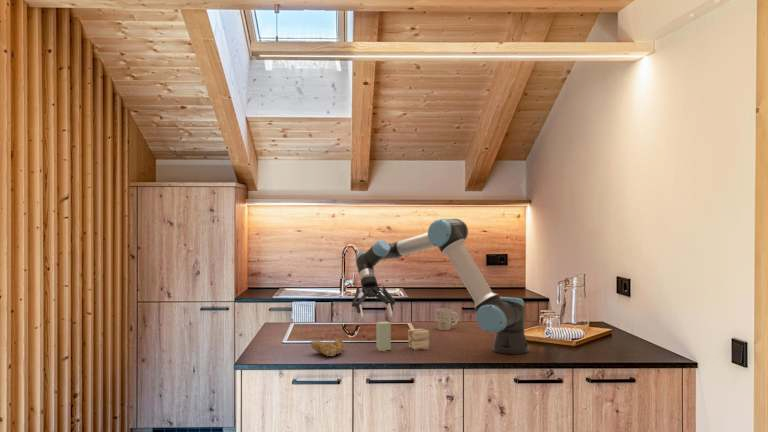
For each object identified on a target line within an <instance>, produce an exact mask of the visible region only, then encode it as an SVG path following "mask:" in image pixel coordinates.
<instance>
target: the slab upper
mask: <svg viewBox="0 0 768 432" xmlns="http://www.w3.org/2000/svg"><path fill="white" fill-rule="evenodd" d="M407 339H408V340H409V339H410V340H412V341H415V342H418V341H427V340H429V341H430V330H427V329H426V328H415V329H413V328H412V329H408V330H407Z"/></svg>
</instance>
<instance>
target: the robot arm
mask: <svg viewBox="0 0 768 432" xmlns="http://www.w3.org/2000/svg"><path fill="white" fill-rule="evenodd" d="M468 235H469V229H468V226H467V224H466V223H465V221H464V220H462V219H459V218H439V219H436V220H434V221H432V222H431V223H430V225H429V227H428V230H427V232H424V233H422V234H418V235H415V236H411V237H408V238H405V239H402V240H398V241H395V242H389V243H388V242H386V241H385V240H383V239H379V240H378V241H376V242H374V244H373V245H372V246H371V247H370V248H369V249H368V250H367V251H365V250H364V251H361V252H359V253H357V254H356V255H355V265H356V268H357V272H358V277H359V280H360V281H359V282H360V285H361V288H359V287H356V289H355V295H354V297H353V300H352V304H351V308H355V309H356V312H357V314H359V316H360V321H363V320H364V316H365V315H364V312H363V308H362V303H363V302H364V301H365V300H366V298H375V297H376V299H379V300H381V301H382V302H383V303H385V304H386V305H387V306H386V307H387V311H388V315H389V319H392V318H393V316H394V314H393V310H394V307H393V306H394V305H395V303H396V299H395V298H394V297H393V296H392V295H391V294H390V293H389V292H388V290H387V289H386V286H385V285H383V286H382V287H379V286H378V285H379V284H378V281H377V276H376V273H375V270H374V267H375V266H376V265H377V264H378V263H380V261H383V260H391V259H400V258H402V257H404V256H407V255H411V254H415V253H418V252H422V251H425V250H429V249H432V248H436V247H438V249H439V250H440V253H441V254H442V255H445V256H447V257H448V259H449V261H450V262H451V264H452V266H453V267H454V269H455V271H456V273H457V274H458V276H459V277H460V280H461V281H462V283H463V284H464V286H465V288H466V289H467V291H468V293H469V295H470V296H471V298H472V300H473V301H474V311H475V312H476V314H475V315H476V317H475V319H476V323H477V325H478V326H479V327H480V328H481V330H483V331H484V332H487V333H491V334H492V333H495V337H494V340H493V343H492V351H494V352H495V353H499V354H504V355H506V354H507V355H521V354H526V353H528V352H529V344H528V341H527V338H526V335H525V303H524V300H523V298H520V297H510V296H509V297H508V296H500V295H499V294H498V293H495V292H493V290H492V289H491V287H490V285H489V283H488V282H487V281H486V278H484V275H483V274H482V272H481V270H480V269H479V268H478V265H477V264H476V262H475V261H474V259H473V257H472V256H471V254H470V253H469V251H468V249H467V248H466V245H465V244H466V240H467V238H468ZM361 293H362V294H363V295H362V296H361V297H360V299H358V298H359V295H360V294H361ZM357 300H358V301H357Z"/></svg>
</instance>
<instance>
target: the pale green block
mask: <svg viewBox="0 0 768 432" xmlns="http://www.w3.org/2000/svg"><path fill="white" fill-rule="evenodd" d="M375 325H376V328H375V329H376V331H375V333H376V334H375V335H376V340H375V341H376V343H375V344H376V347H377V348H378V349H379V350H386V349H392V346H391V344H392V343H391V342H392V341H391V338H392V337H391V325H392V324H391V322H389V321H376V323H375ZM376 347H375V348H376Z"/></svg>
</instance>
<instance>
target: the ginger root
mask: <svg viewBox="0 0 768 432" xmlns="http://www.w3.org/2000/svg"><path fill="white" fill-rule="evenodd" d="M310 345H311V348H312V349H313V350H314V351H315V352H317V353H321V354H323V355H324V356H325V355H326V357H328V356H332V357H335V356H337V355H336V354H338V353H341V354H342V352H343V348H345V347H346V344H345V343H344V341H343V338H340V337H337V338H336V339H335V340H334V341H326V342H323V341H320V340H314V341H313V340H311V341H310Z"/></svg>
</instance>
